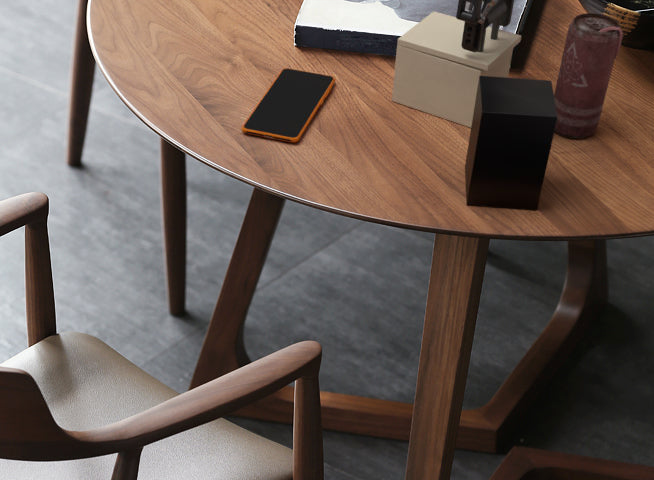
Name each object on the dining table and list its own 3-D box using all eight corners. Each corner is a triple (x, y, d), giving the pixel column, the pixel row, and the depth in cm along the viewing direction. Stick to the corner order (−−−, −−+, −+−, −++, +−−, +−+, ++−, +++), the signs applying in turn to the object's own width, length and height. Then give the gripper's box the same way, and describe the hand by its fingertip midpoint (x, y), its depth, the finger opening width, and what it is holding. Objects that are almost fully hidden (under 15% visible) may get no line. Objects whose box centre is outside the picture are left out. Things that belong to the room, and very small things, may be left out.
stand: (532, 172, 128) (551, 80, 120) (537, 210, 122) (557, 117, 114) (464, 167, 129) (479, 75, 120) (466, 205, 123) (482, 111, 115)
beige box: (504, 97, 141) (514, 41, 136) (471, 128, 135) (481, 71, 130) (426, 72, 146) (433, 17, 140) (391, 101, 140) (397, 45, 134)
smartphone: (239, 133, 133) (239, 127, 132) (283, 72, 144) (283, 66, 144) (298, 145, 131) (298, 138, 131) (337, 82, 143) (337, 76, 142)
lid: (520, 41, 135) (527, -2, 132) (487, 71, 129) (493, 27, 126) (433, 16, 140) (437, -26, 137) (397, 44, 134) (400, 1, 131)
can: (595, 144, 133) (622, 38, 124) (544, 134, 135) (567, 28, 125) (601, 120, 137) (628, 16, 128) (551, 111, 139) (574, 7, 129)
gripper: (511, -71, 115) (488, 68, 126) (563, -110, 124) (537, 24, 135) (448, -87, 118) (431, 50, 129) (504, -124, 127) (483, 8, 138)
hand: (485, 36), depth 132 cm, fingers open, 8 cm apart
